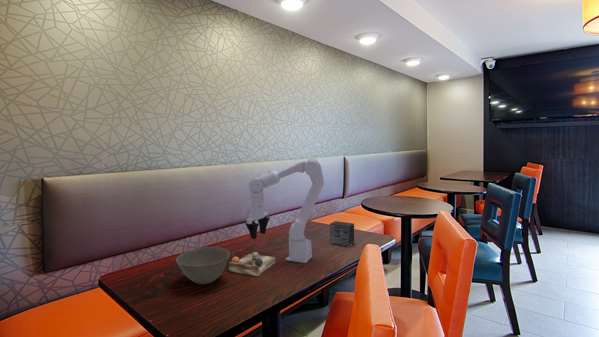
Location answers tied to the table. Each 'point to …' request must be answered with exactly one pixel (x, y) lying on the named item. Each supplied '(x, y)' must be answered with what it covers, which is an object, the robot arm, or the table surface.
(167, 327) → the table surface
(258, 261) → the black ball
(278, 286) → the table surface
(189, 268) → the bowl
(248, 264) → the bearing plate
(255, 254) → the steel ball
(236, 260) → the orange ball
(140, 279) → the table surface
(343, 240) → the small box
